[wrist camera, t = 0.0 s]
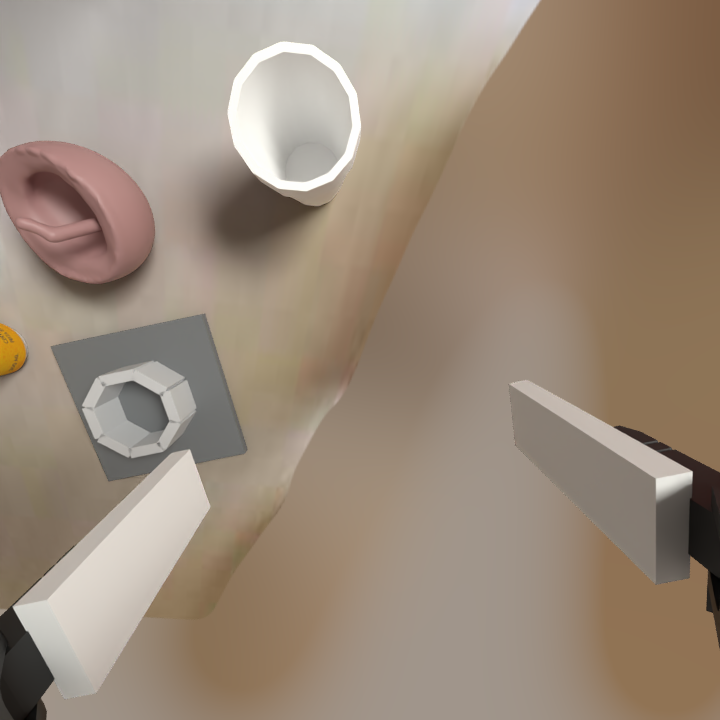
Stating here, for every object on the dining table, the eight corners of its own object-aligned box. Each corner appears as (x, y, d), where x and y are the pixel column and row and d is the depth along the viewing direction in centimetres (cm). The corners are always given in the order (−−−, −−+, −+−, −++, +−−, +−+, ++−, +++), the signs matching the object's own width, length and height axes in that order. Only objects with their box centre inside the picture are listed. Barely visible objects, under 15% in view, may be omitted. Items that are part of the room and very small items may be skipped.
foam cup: (316, 239, 38) (300, 218, 26) (252, 177, 37) (201, 122, 24) (374, 173, 37) (387, 116, 24) (310, 105, 35) (288, 7, 23)
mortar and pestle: (47, 242, 37) (-80, 225, 26) (93, 142, 35) (-25, 79, 24) (147, 303, 39) (67, 311, 28) (196, 211, 37) (130, 182, 26)
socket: (57, 344, 40) (17, 353, 35) (204, 313, 40) (184, 318, 35) (113, 476, 44) (84, 501, 39) (247, 449, 44) (234, 470, 39)
